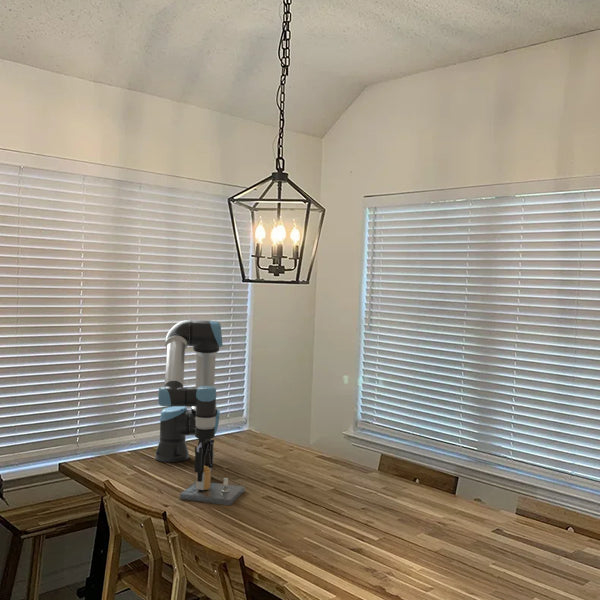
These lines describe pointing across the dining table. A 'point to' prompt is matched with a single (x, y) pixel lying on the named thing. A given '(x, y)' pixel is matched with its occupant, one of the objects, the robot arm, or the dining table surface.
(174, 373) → the robot arm
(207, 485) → the wooden jar
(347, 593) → the dining table surface
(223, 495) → the junction plate
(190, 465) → the dining table surface
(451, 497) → the dining table surface
